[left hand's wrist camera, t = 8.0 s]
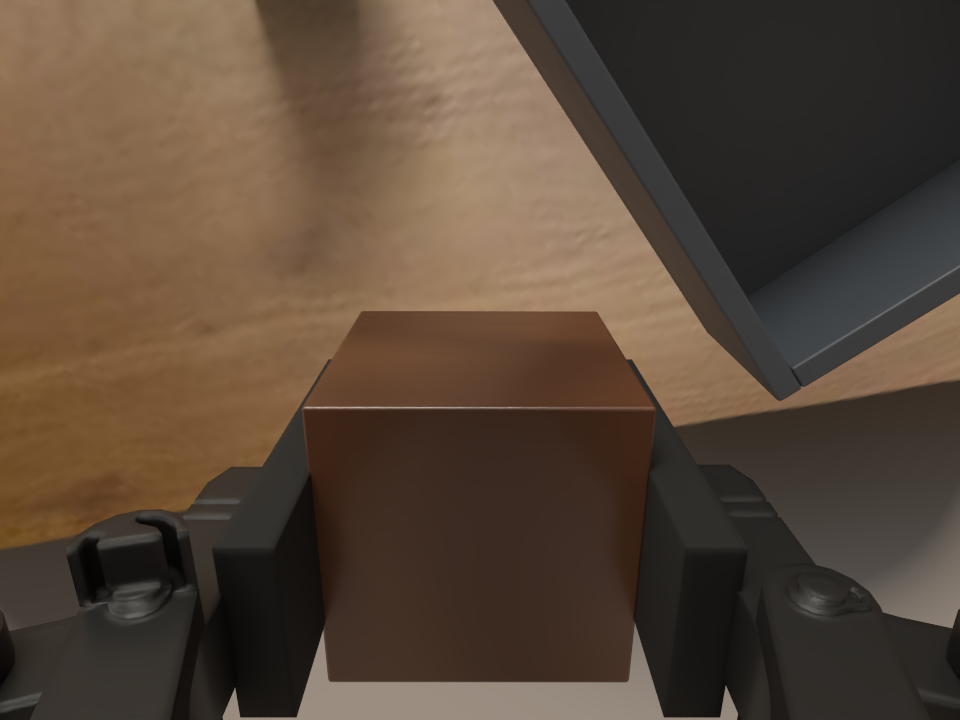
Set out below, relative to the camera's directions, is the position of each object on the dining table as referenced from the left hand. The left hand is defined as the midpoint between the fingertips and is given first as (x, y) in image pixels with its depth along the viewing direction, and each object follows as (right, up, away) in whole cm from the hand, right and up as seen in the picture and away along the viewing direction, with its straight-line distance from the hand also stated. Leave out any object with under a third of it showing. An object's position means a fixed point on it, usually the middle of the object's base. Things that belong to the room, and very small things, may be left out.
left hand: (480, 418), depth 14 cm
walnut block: (0, 0, 0) cm, 0 cm away
